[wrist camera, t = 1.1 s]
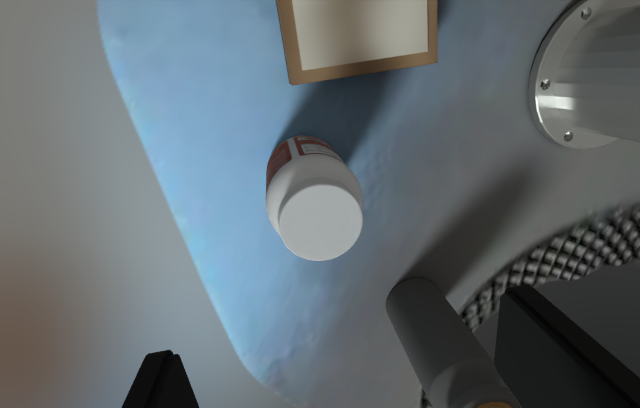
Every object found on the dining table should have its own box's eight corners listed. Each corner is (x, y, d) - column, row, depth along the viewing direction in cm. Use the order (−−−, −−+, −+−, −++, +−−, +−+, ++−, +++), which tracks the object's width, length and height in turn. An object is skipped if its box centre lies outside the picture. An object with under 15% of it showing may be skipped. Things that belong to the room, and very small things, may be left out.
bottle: (435, 320, 37) (534, 471, 23) (383, 325, 36) (453, 485, 22) (442, 275, 34) (556, 411, 21) (387, 279, 34) (467, 423, 20)
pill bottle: (285, 214, 30) (292, 289, 20) (253, 152, 27) (242, 200, 17) (349, 187, 30) (390, 247, 19) (323, 121, 27) (354, 151, 17)
